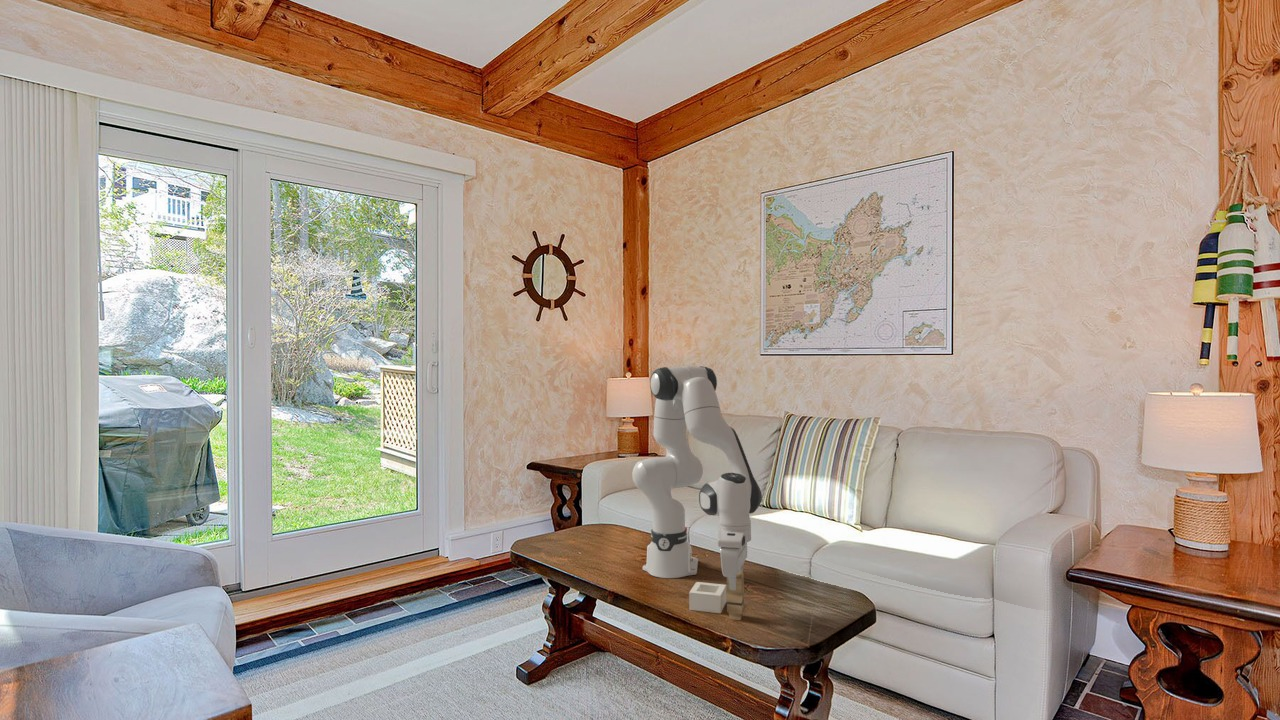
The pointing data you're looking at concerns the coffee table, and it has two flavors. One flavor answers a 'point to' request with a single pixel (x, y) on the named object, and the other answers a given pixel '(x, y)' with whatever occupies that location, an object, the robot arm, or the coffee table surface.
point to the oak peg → (736, 598)
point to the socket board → (707, 597)
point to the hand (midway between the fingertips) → (736, 583)
